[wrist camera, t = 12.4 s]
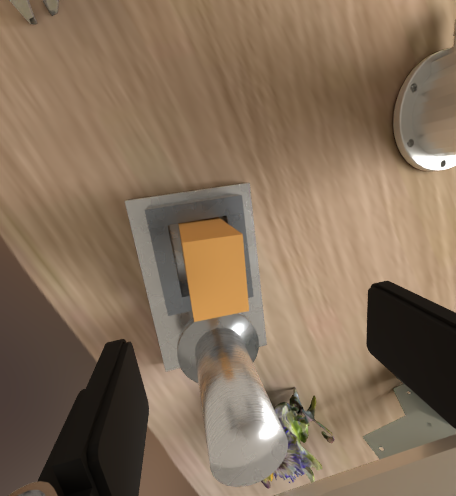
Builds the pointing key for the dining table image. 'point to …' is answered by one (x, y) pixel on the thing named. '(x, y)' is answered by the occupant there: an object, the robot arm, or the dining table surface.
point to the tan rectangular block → (214, 268)
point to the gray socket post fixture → (212, 331)
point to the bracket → (409, 426)
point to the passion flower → (296, 440)
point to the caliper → (24, 7)
